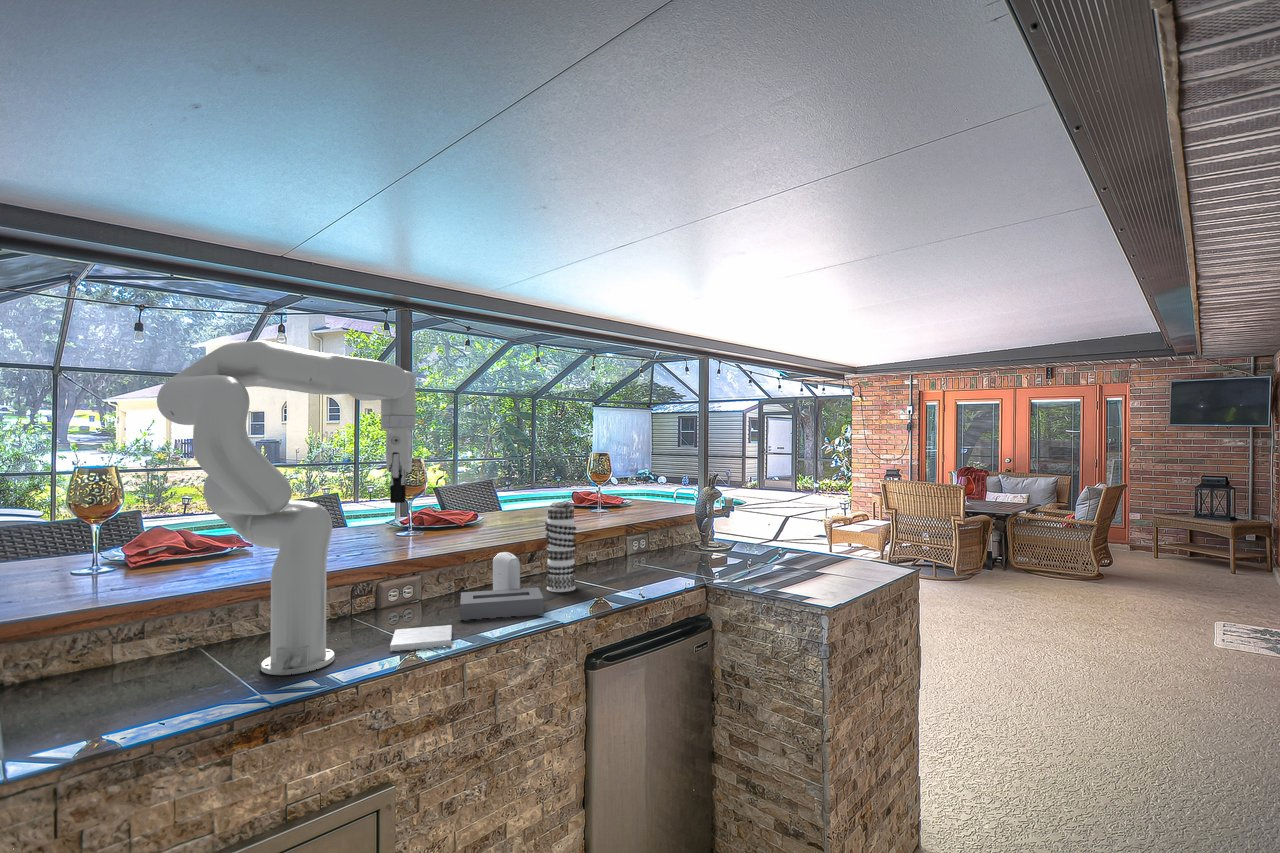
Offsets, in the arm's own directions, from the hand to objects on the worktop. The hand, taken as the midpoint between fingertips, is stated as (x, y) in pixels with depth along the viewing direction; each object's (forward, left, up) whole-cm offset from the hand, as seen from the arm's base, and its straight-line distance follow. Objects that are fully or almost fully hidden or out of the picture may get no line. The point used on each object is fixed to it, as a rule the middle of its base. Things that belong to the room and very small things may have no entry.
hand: (397, 502), depth 146 cm
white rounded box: (+22, -26, -29) cm, 45 cm away
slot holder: (+8, -24, -29) cm, 39 cm away
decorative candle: (+28, -42, -29) cm, 58 cm away
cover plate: (-6, -6, -29) cm, 30 cm away
